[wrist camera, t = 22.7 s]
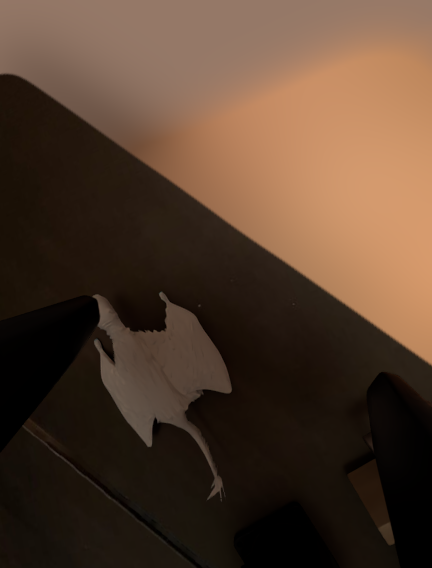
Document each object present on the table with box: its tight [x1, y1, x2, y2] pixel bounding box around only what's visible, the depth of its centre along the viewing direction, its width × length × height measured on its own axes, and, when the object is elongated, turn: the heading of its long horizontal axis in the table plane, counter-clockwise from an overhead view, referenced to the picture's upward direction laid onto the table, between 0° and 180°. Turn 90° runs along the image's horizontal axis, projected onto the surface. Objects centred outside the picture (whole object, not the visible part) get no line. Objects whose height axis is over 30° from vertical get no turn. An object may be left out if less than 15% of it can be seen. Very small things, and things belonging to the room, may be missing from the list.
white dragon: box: [93, 292, 232, 502], centre depth 19 cm, size 18×10×4 cm, turn 35°
